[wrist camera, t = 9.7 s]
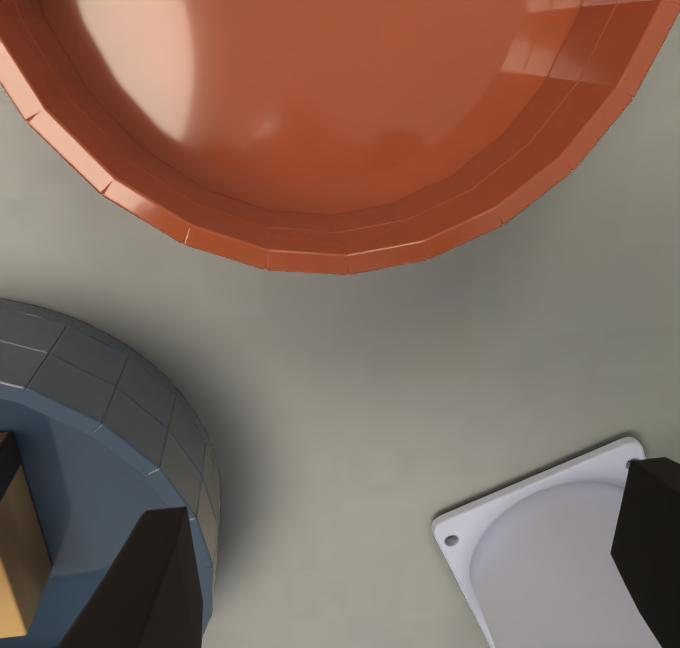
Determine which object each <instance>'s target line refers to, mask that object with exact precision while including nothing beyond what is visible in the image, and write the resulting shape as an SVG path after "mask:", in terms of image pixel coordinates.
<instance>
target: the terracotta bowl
mask: <svg viewBox="0 0 680 648" xmlns="http://www.w3.org/2000/svg"><path fill="white" fill-rule="evenodd" d="M679 12H680V0H0V84H1V85H2V87H3V88H4V90H5V91H6V93H7V94H8V96H9V97H10V99H11V100H12V102H13V103H14V105H15V106H16V108H17V110H18V111H19V113H20V114H21V116H22V117H23V119H24V120H25V121H28V122H27V123H28V124H29V125H30V126H31V127H32V128H33V129H34V130H35V131H36V132H37V133H38V134H39V135H40V136H41V137H42V138H43V139H44V140H45V141H46V142H47V143H48V144H49V145H50V146H51V147H52V148H53V149H54V150H55V151H56V152H57V153H58V154H59V155H60V156H62V157H63V158H64V159H65V160H66V161H67V162H68V163H69V164H70V165H71V166H72V167H73V168H74V169H75V170H76V171H77V172H78V173H79V174H80V175H81V176H82V177H83V178H84V179H85V180H86V181H87V182H88V183H89V184H90V185H91V186H92V187H93V188H94V189H96V190H97V191H98V192H99V193H100V194H103V196H104V197H105V198H107V199H108V200H110V201H112V202H113V203H115V204H117V205H118V206H120V207H122V208H123V209H125V210H127V211H128V212H130V213H132V214H133V215H135V216H137V217H138V218H140V219H142V220H143V221H145V222H147V223H148V224H150V225H152V226H153V227H155V228H157V229H158V230H160V231H162V232H163V233H165V234H166V235H168V236H170V237H171V238H173V239H175V240H176V241H178V242H180V243H183V244H185V245H187V246H190V247H193V248H196V249H200V250H203V251H206V252H209V253H212V254H215V255H219V256H222V257H225V258H228V259H231V260H235V261H238V262H241V263H244V264H247V265H250V266H254V267H257V268H260V269H266V270H270V271H287V272H304V273H322V274H339V275H347V274H350V275H351V274H356V273H361V272H366V271H372V270H377V269H382V268H387V267H393V266H398V265H403V264H408V263H414V262H419V261H424V260H427V258H428V259H431V258H433V257H435V256H437V255H439V254H442V253H444V252H446V251H448V250H450V249H452V248H455V247H457V246H459V245H461V244H463V243H466V242H468V241H470V240H472V239H474V238H476V237H479V236H481V235H483V234H485V233H487V232H490V231H492V230H494V229H496V228H498V227H500V226H502V224H505V223H507V222H508V221H509V220H511V219H512V218H513V217H515V216H516V215H517V214H519V213H520V212H521V211H522V210H524V209H525V208H526V207H528V206H529V205H530V204H531V203H533V202H534V201H535V200H537V199H538V198H539V197H540V196H542V195H543V194H544V193H546V192H547V191H548V190H549V189H551V188H552V187H553V186H555V185H556V184H557V183H558V182H560V181H561V180H562V179H564V178H565V177H566V176H567V175H569V174H570V173H571V172H572V171H571V170H574V169H575V168H576V167H577V166H578V165H579V163H580V162H581V161H582V160H583V159H584V157H585V156H586V155H587V154H588V153H589V151H590V150H591V149H592V148H593V147H594V145H595V144H596V143H597V142H598V141H599V139H600V138H601V137H602V136H603V135H604V133H605V132H606V131H607V130H608V129H609V127H610V126H611V125H612V124H613V123H614V121H615V120H616V119H617V118H618V117H619V115H620V114H621V113H622V112H623V111H624V109H625V108H626V107H627V106H628V105H629V103H630V102H631V101H632V97H634V96H635V95H636V93H637V91H638V89H639V87H640V86H641V84H642V82H643V80H644V78H645V76H646V74H647V72H648V71H649V69H650V67H651V65H652V63H653V61H654V59H655V57H656V55H657V54H658V52H659V50H660V48H661V46H662V44H663V42H664V40H665V39H666V37H667V35H668V33H669V31H670V29H671V27H672V25H673V24H674V22H675V20H676V18H677V16H678V14H679Z"/></svg>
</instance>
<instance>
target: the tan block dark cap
mask: <svg viewBox="0 0 680 648" xmlns="http://www.w3.org/2000/svg"><path fill="white" fill-rule="evenodd" d="M21 463H22V460H21V457H20V453H19V450H18V447H17V443H16V440H15V436H14V433H13V431H2V432H0V638H8V637H17V636H25V635H27V633H28V630H29V628H30V625H31V623H32V620H33V617H34V615H35V612H36V610H37V607H38V604H39V602H40V599H41V597H42V594H43V591H44V589H45V586H46V583H47V581H48V578H49V576H50V573H51V570H52V565H51V562H50V559H49V555H48V552H47V549H46V545H45V542H44V539H43V535H42V532H41V528H40V525H39V522H38V518H37V515H36V512H35V508H34V505H33V502H32V498H31V495H30V492H29V488H28V485H27V482H26V478H25V475H24V472H23V468H22V465H21Z"/></svg>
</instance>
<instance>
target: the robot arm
mask: <svg viewBox="0 0 680 648" xmlns="http://www.w3.org/2000/svg"><path fill="white" fill-rule="evenodd" d="M631 459H632V461H630V462H629V463H627V462H628V461H629V460H631ZM431 528H432V532H433V535H434V537H435V539H436V541H437V543H438V545H439V547H440V549H441V551H442V553H443V555H444V557H445V559H446V561H447V563H448V565H449V566H450V568H451V570H452V572H453V574H454V576H455V578H456V580H457V582H458V584H459V586H460V588H461V590H462V592H463V594H464V596H465V598H466V600H467V602H468V604H469V606H470V608H471V610H472V612H473V614H474V615H475V617H476V619H477V621H478V623H479V625H480V627H481V629H482V631H483V633H484V635H485V637H486V639H487V641H488V643H489V645H490V647H491V648H680V464H678V463H676V462H674V461H672V460H670V459H668V458H666V457H662V458H653V459H646V458H645V454H644V451H643V447H642V446H641V444H640V443H639V442H638V441H637V440H636V439H635V438H633V437H625V438H621V439H619V440H617V441H614V442H612V443H609V444H607V445H605V446H602V447H600V448H598V449H595V450H593V451H591V452H588V453H586V454H584V455H581V456H579V457H577V458H574V459H572V460H569V461H567V462H565V463H562V464H560V465H558V466H555V467H553V468H551V469H548V470H546V471H544V472H541V473H539V474H537V475H534V476H532V477H529V478H527V479H525V480H522V481H520V482H518V483H515V484H513V485H511V486H508V487H506V488H504V489H501V490H499V491H497V492H494V493H492V494H489V495H487V496H485V497H482V498H480V499H478V500H475V501H473V502H471V503H468V504H466V505H464V506H461V507H459V508H457V509H454V510H452V511H449V512H447V513H445V514H442V515H440V516H438V517H437V518H435V519H434V521H433V522H432V525H431ZM451 535H454V536H452V537H451V538H447V537H448V536H451ZM202 618H203V597H202V592H201V586H200V580H199V574H198V568H197V562H196V557H195V551H194V545H193V539H192V533H191V528H190V522H189V516H188V510H187V506H184V507H174V508H165V509H155V510H146V511H145V512H144V513H143V514H142V515H141V517H140V518H139V520H138V521H137V523H136V525H135V527H134V528H133V530H132V532H131V533H130V535H129V537H128V538H127V540H126V542H125V544H124V545H123V547H122V549H121V550H120V552H119V553H118V555H117V557H116V558H115V560H114V562H113V563H112V565H111V566H110V568H109V569H108V571H107V573H106V574H105V576H104V577H103V579H102V580H101V582H100V584H99V585H98V587H97V588H96V590H95V591H94V593H93V594H92V596H91V597H90V599H89V600H88V602H87V603H86V605H85V606H84V608H83V609H82V611H81V612H80V613H79V615H78V616H77V618H76V619H75V621H74V622H73V624H72V625H71V627H70V628H69V630H68V631H67V633H66V634H65V636H64V637H63V638H62V640H61V641H60V643H59V644H58V645H57V647H56V648H201V641H202Z"/></svg>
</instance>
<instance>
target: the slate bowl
mask: <svg viewBox="0 0 680 648" xmlns="http://www.w3.org/2000/svg"><path fill="white" fill-rule="evenodd" d="M2 431H13V433H14V436H15V440H16V443H17V447H18V450H19V453H20V457H21V460H22V463H21V465H22V468H23V472H24V475H25V478H26V482H27V485H28V488H29V492H30V495H31V498H32V502H33V505H34V508H35V512H36V515H37V518H38V522H39V525H40V528H41V532H42V535H43V539H44V542H45V545H46V549H47V552H48V555H49V559H50V562H51V565H52V570H51V573H50V576H49V578H48V581H47V583H46V586H45V589H44V591H43V594H42V597H41V599H40V602H39V604H38V607H37V610H36V612H35V615H34V617H33V620H32V623H31V625H30V628H29V630H28V633H27V635H25V636H17V637H8V638H0V648H56V647H57V645H58V644H59V643H60V641H61V640H62V638H63V637H64V636H65V634H66V633H67V631H68V630H69V628H70V627H71V625H72V624H73V622H74V621H75V619H76V618H77V616H78V615H79V613H80V612H81V611H82V609H83V608H84V606H85V605H86V603H87V602H88V600H89V599H90V597H91V596H92V594H93V593H94V591H95V590H96V588H97V587H98V585H99V584H100V582H101V580H102V579H103V577H104V576H105V574H106V573H107V571H108V569H109V568H110V566H111V565H112V563H113V562H114V560H115V558H116V557H117V555H118V553H119V552H120V550H121V549H122V547H123V545H124V544H125V542H126V540H127V538H128V537H129V535H130V533H131V532H132V530H133V528H134V527H135V525H136V523H137V521H138V520H139V518H140V517H141V515H142V514H143V513H144V512H145V511H146V510H155V509H165V508H174V507H184V506H187V510H188V516H189V522H190V528H191V533H192V539H193V545H194V551H195V557H196V562H197V568H198V574H199V580H200V586H201V592H202V597H203V618H202V637H203V635H204V632H205V630H206V627H207V625H208V623H209V620H210V618H211V615H212V612H213V599H214V587H215V574H216V561H217V548H218V535H219V514H220V498H221V495H220V476H219V471H218V466H217V462H216V457H215V453H214V450H213V448H212V445H211V443H210V440H209V438H208V435H207V433H206V430H205V429H204V427H203V425H202V424H201V422H200V420H199V418H198V417H197V415H196V413H195V411H194V410H193V408H192V407H191V406H190V404H189V403H188V402H187V401H186V399H185V398H184V397H183V395H182V394H181V393H180V392H179V390H178V389H177V388H176V387H175V386H174V385H173V384H172V383H171V382H170V381H169V380H168V379H167V378H166V377H165V376H164V375H163V374H162V373H161V372H160V371H159V370H158V369H157V368H156V367H155V366H153V365H152V364H151V363H150V362H148V361H147V360H146V359H144V358H143V357H142V356H140V355H139V354H138V353H136V352H135V351H134V350H133V349H131V348H130V347H128V346H126V345H125V344H123V343H121V342H119V341H118V340H116V339H114V338H113V337H111V336H109V335H108V334H106V333H104V332H102V331H100V330H98V329H96V328H94V327H91V326H89V325H87V324H85V323H83V322H80V321H78V320H76V319H74V318H71V317H68V316H65V315H62V314H59V313H56V312H53V311H50V310H47V309H44V308H41V307H37V306H32V305H28V304H23V303H18V302H14V301H9V300H4V299H0V432H2Z"/></svg>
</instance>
